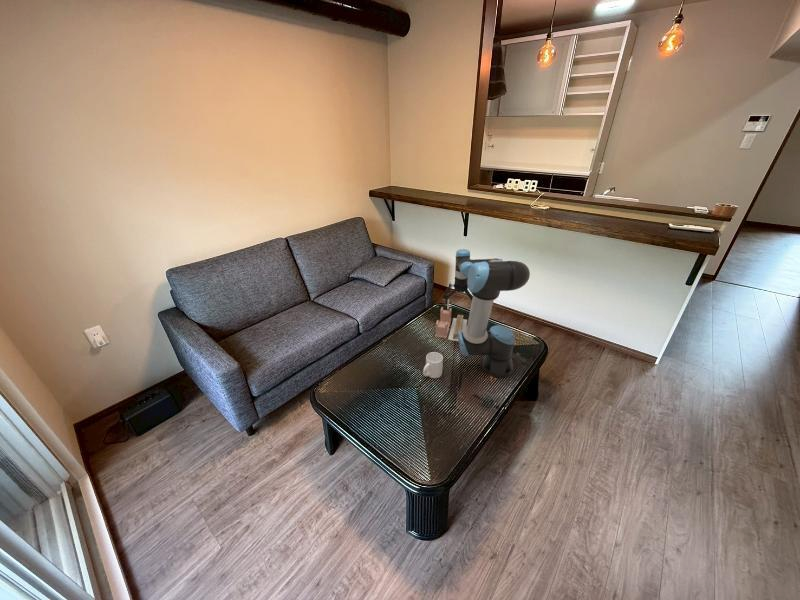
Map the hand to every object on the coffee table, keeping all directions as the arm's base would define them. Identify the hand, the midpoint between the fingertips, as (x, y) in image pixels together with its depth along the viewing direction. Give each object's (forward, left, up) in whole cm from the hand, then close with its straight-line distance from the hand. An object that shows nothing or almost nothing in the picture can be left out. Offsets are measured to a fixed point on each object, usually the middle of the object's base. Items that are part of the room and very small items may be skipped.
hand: (459, 309), depth 180 cm
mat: (0, 0, -15) cm, 15 cm away
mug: (+8, +43, -15) cm, 46 cm away
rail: (0, 0, -14) cm, 14 cm away
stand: (+9, 0, -15) cm, 17 cm away
